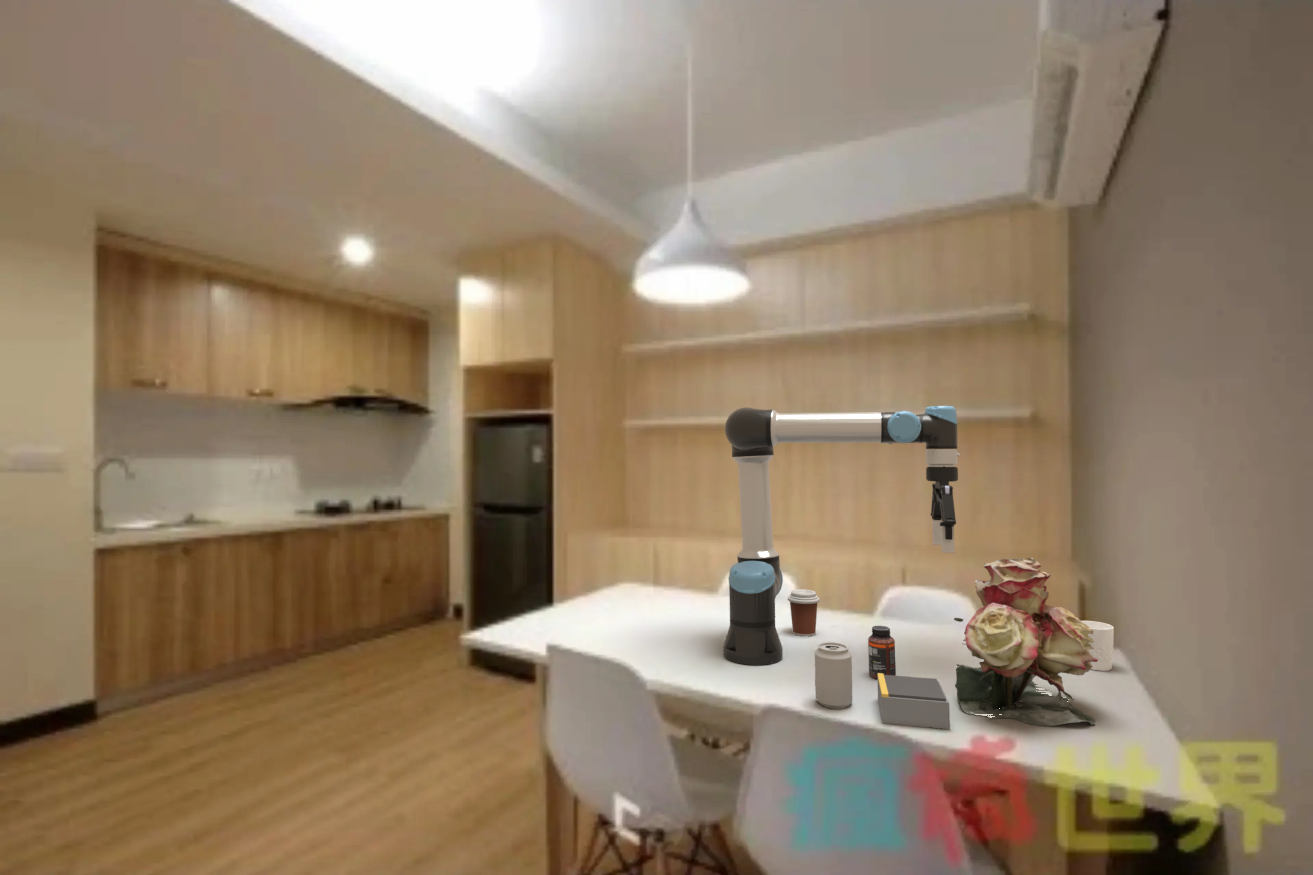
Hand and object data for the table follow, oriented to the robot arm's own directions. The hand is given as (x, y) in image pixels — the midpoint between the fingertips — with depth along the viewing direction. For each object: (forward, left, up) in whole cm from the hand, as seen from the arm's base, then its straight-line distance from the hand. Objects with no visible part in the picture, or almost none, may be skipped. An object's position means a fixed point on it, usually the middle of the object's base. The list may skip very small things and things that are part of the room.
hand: (943, 548), depth 164 cm
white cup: (+33, -1, -28) cm, 43 cm away
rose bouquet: (+10, -30, -28) cm, 42 cm away
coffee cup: (-36, +12, -28) cm, 47 cm away
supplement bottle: (-17, -20, -28) cm, 38 cm away
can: (-28, -39, -28) cm, 55 cm away
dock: (-13, -41, -27) cm, 51 cm away
